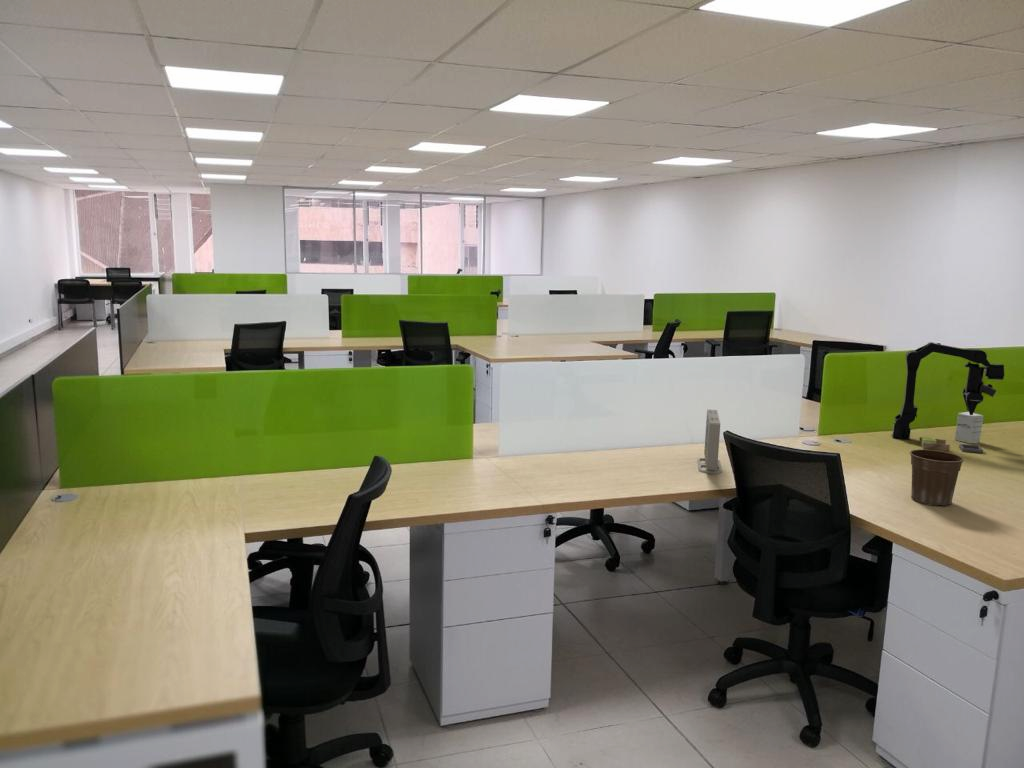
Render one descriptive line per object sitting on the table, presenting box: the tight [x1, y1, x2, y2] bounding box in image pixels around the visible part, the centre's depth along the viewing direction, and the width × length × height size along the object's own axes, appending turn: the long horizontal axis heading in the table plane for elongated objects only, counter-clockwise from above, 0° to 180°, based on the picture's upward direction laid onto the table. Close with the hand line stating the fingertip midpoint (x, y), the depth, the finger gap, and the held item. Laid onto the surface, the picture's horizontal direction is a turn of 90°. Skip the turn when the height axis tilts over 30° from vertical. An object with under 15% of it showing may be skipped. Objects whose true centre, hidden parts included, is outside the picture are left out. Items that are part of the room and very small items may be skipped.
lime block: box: [920, 436, 937, 447], centre depth 340 cm, size 5×5×4 cm
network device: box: [696, 409, 723, 474], centre depth 300 cm, size 26×9×20 cm, turn 168°
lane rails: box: [918, 436, 951, 452], centre depth 339 cm, size 10×11×2 cm
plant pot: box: [909, 448, 965, 507], centre depth 264 cm, size 16×16×16 cm
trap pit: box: [958, 443, 984, 454], centre depth 334 cm, size 8×8×2 cm
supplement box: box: [954, 411, 984, 445], centre depth 349 cm, size 7×7×13 cm
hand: (969, 412), depth 342 cm, fingers open, 9 cm apart
